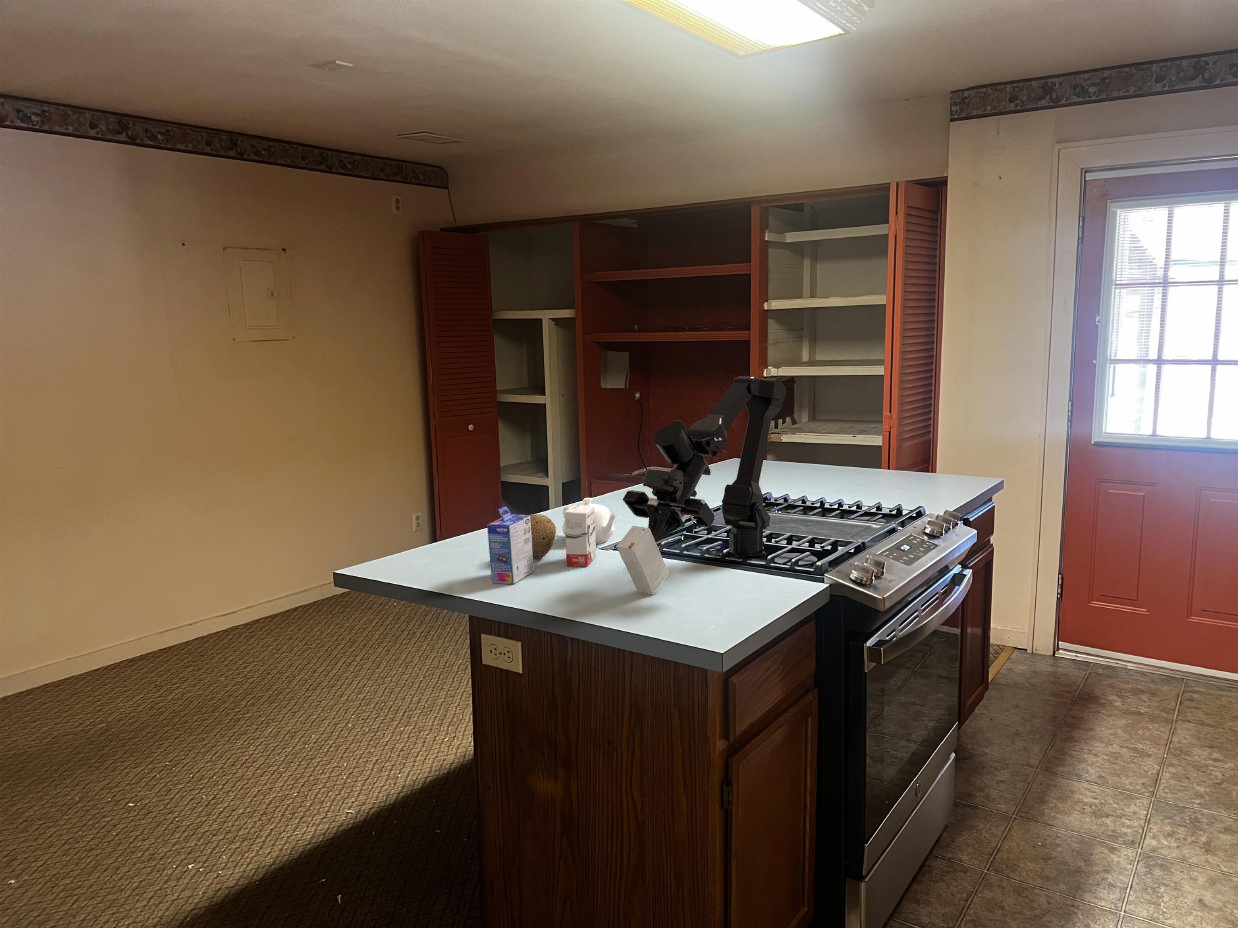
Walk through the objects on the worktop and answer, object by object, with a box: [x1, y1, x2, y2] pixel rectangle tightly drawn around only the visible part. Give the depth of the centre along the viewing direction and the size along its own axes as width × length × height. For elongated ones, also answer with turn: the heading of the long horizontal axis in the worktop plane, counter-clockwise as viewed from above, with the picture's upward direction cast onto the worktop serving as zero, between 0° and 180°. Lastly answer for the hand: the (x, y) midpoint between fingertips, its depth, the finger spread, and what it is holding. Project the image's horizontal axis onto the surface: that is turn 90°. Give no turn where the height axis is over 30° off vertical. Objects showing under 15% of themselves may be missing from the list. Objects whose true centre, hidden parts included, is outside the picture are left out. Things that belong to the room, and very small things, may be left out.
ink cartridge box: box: [486, 506, 535, 585], centre depth 177 cm, size 10×6×14 cm, turn 161°
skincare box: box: [615, 525, 670, 595], centre depth 164 cm, size 6×4×12 cm
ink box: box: [564, 504, 597, 567], centre depth 188 cm, size 9×5×12 cm, turn 168°
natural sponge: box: [529, 513, 557, 559], centre depth 192 cm, size 9×9×10 cm
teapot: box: [562, 497, 618, 545], centre depth 207 cm, size 20×12×10 cm, turn 40°
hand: (648, 543), depth 165 cm, fingers closed, pressing on skincare box
